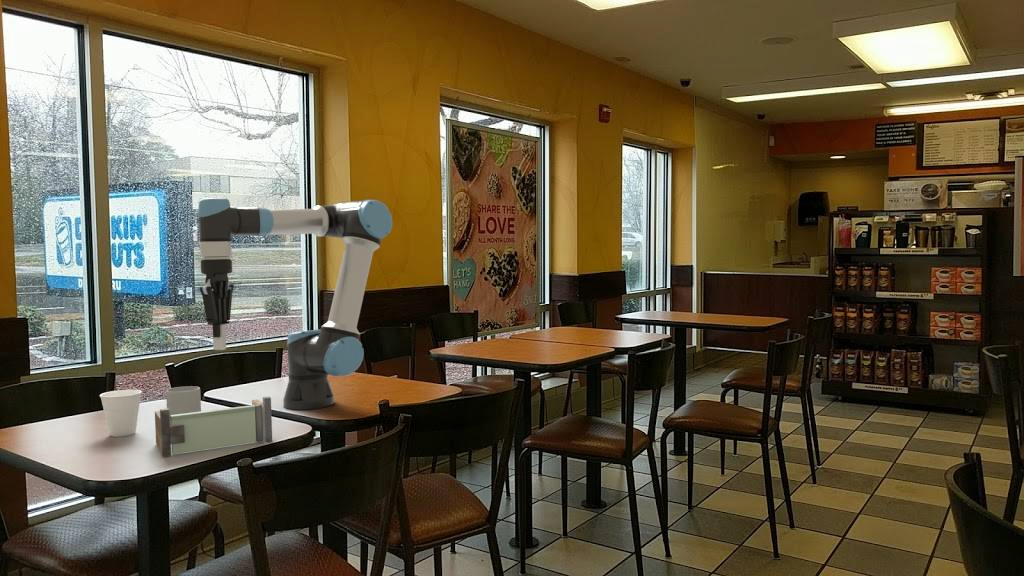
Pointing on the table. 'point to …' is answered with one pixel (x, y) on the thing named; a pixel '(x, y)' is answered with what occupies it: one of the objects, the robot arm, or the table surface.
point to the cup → (121, 411)
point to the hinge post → (266, 417)
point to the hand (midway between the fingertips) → (219, 349)
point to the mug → (183, 400)
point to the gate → (219, 428)
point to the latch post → (167, 432)
